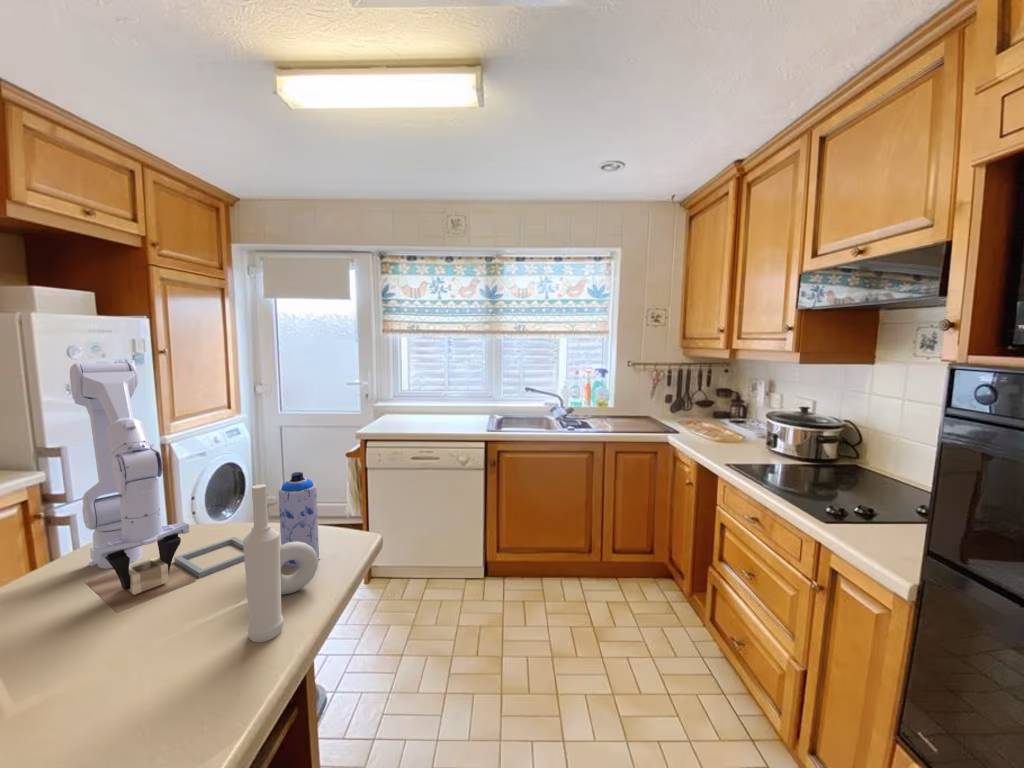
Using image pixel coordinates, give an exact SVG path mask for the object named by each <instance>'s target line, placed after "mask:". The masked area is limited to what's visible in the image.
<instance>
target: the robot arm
mask: <svg viewBox="0 0 1024 768" xmlns="http://www.w3.org/2000/svg"><path fill="white" fill-rule="evenodd" d="M138 374H139V373H138V370H137V367H136V366H135V364H133V362H131V361H128V362H112V363H111V362H110V363H108V362H106V363H101V362H100V363H79V362H78V363H77V362H75V363H73V364H72V365H71V366H70V368H69V381H70V388H71V396H72V399H73V401H74V404H75V405H79V406H82V407H85V408H86V410H87V412H88V416H89V421H90V427H91V434H92V442H93V448H94V457H95V463H96V469H97V470H96V471H97V477H98V478H97V479H98V482H96V483H95V484H94V485H93V486H92V487H90V488H89V489H88V490H86V491H85V492H84V493H83V496H82V519H83V523H84V525H85V527H86V529H89V530H90V531H92V530H93V533H92V543H93V544H92V547H91V548H90V549H89V552H90V559H91V561H89V562H88V566H90V567H91V566H94V565H97V567H98V568H99V569H100V568H101V569H113V570H114V571H115V572H116V573H117V575H118V577H119V579H120V582H121V585H122V588H123V589H124V590H128V589H130V577H129V566H130V564H131V563H133V562H135V561H137V560H139V559H140V558H142V557H143V549H142V548H143V546H147V545H151V544H154V543H157V548H158V554H159V558H160V560H162V561H163V562H165V563H166V564H168V575H169V571H170V566H171V565H172V563H173V560H174V557H175V554H176V551H177V550H178V548H179V546H180V544H181V542H182V540H181V537H180V536H179V535H181V534H182V535H185V534H188V533H189V534H190V523H188V522H187V521H184V520H183V521H181V522H177V523H173V524H166V525H162V516H161V515H162V514H161V501H160V500H161V499H160V486H159V478H160V477H162V475H163V467H164V466H163V460H162V455H161V453H160V450H159V449H158V448H157V447H156V446H155V444H154V443H153V444H151V441H150V438H149V436H148V432H147V430H146V427H145V424H144V422H142V421H141V420H139V419H136V418H135V417H134V416H135V415H134V411H133V406H132V401H131V399H132V396H133V395H134V393H135V390H136V389H137V386H138V384H139V378H138ZM114 493H117V494H114ZM110 494H112V495H110ZM105 495H107V496H105ZM101 496H102V497H101ZM115 572H114V573H115Z"/></svg>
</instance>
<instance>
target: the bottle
mask: <svg viewBox="0 0 1024 768" xmlns="http://www.w3.org/2000/svg"><path fill="white" fill-rule="evenodd" d="M251 496H252V497H251V498H252V511H253V512H252V514H253V515H252V516H253V527H251V531H250V532H249V533H248V534H247V535H246V536H245V537H244V538H243V540H242V541H243V547H244V550H243V554H244V569H245V582H246V596H247V597H246V598H247V607H248V608H247V609H248V623H249V624H248V625H247V634H248V638H249V640H250V641H251V642H253V643H263V642H267V641H270V640H273V639H274V638H275V637H277V636H279V635H280V633H282V631H283V627H284V617H283V615H282V594H281V576H280V545H281V533H280V532H279V531H278V530H275V528H272V527H271V525H270V524H269V523H268V522H269V519H268V518H269V517H268V516H269V515H268V503H267V501H268V491H267V484H266V483H265V484H262V483H261V484H255V485H253V486H251Z"/></svg>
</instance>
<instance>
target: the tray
mask: <svg viewBox="0 0 1024 768" xmlns="http://www.w3.org/2000/svg"><path fill="white" fill-rule="evenodd" d="M229 545H234V546H236V547H238V548H239V549H240V550H241V549H242V550H243V551H244V547H243V540H241V539H239V538H238V537H235V536H233V537H229V538H227V539H224V540H221V541H218V542H215V543H212V544H208V545H205V546H203V547H201V548H197V549H195V550H192V551H188V552H186V553H183V554H180V555H176V556H173V560H174V563H175V564H177V565H178V566H180V567H182V568H183V569H185V570H187V572H189V573H192V574H193V575H194V576H196V577H197V578H199V579H200V578H203V577H206V576H208V575H210V574H213V573H216V572H218V571H220V570H224V569H226V568H228V567H229V568H230V567H231V566H234V565H236V564H239V563H241V562H243V561H244V562H245V560H244V553H242V554H240V555H239V554H238V555H237V556H234V557H232V558H229V559H226V560H224V561H221V562H218V563H216V564H212V565H211V566H207V567H205V568H203V569H202V568H201V567H199V566H198V565H196V564H194V563H193V562H191V560H190V559H193V558H195V557H198V556H201V555H204V554H207V553H210V552H213V551H215V550H218V549H221V548H223V547H226V546H227V547H228V546H229Z"/></svg>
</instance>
